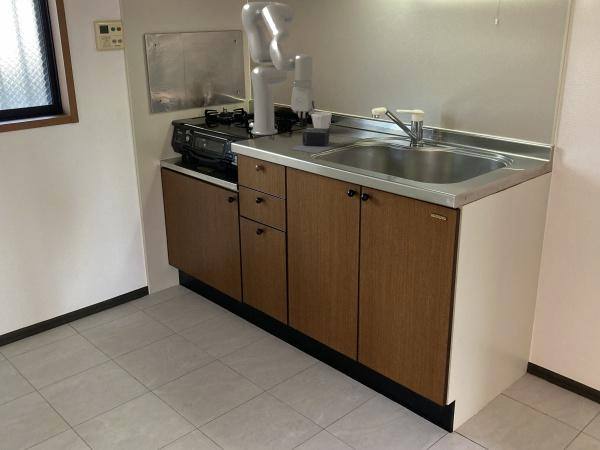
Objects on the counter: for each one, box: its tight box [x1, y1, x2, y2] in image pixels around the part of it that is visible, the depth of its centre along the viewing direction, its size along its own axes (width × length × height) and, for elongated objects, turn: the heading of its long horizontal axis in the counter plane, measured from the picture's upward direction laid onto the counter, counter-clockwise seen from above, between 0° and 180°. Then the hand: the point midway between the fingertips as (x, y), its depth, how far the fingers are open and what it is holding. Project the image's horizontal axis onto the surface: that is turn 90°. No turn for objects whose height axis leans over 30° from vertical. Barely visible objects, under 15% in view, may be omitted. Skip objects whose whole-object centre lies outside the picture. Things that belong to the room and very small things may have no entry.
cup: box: [310, 111, 333, 129], centre depth 303 cm, size 10×10×9 cm
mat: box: [290, 141, 346, 155], centre depth 273 cm, size 14×22×1 cm, turn 143°
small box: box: [302, 127, 330, 146], centre depth 277 cm, size 11×6×10 cm
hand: (303, 126), depth 275 cm, fingers closed
